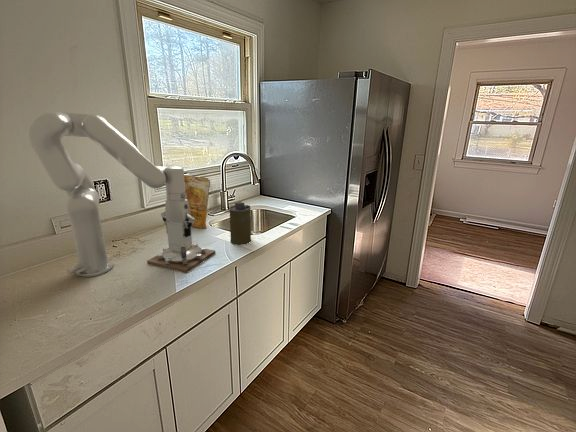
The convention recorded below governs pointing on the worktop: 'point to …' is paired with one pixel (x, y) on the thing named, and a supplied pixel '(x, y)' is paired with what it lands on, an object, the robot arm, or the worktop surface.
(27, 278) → the worktop surface
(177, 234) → the supplement box
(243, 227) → the canister
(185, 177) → the pancake mix bag
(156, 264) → the walnut plinth
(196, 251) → the sprocket wheel
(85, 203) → the robot arm
